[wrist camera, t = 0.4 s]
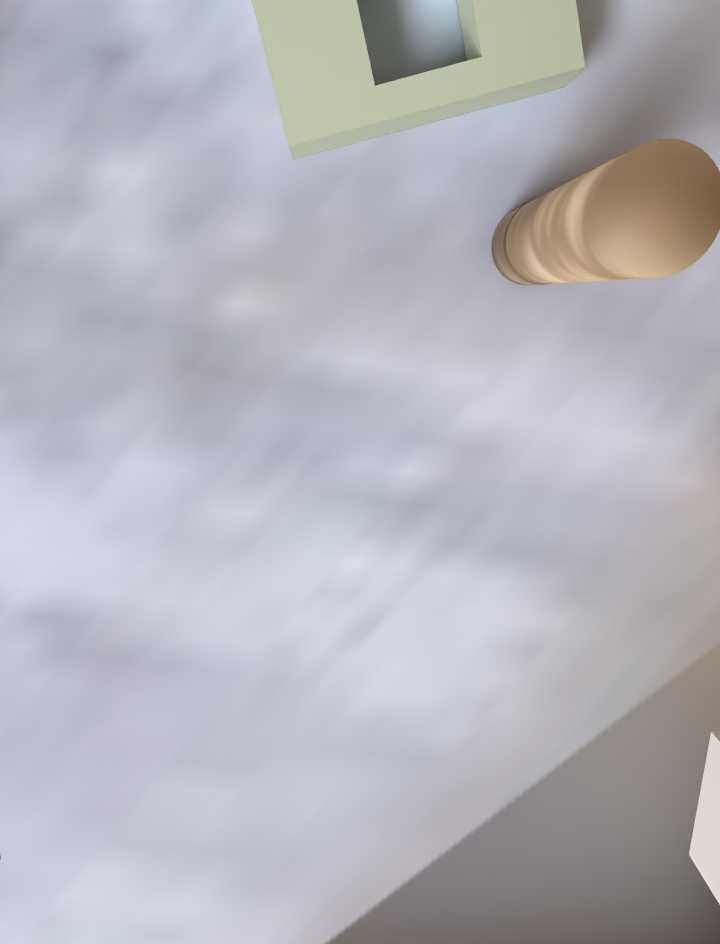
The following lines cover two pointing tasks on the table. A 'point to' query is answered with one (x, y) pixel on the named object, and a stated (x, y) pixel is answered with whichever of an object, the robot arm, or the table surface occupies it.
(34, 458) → the table surface
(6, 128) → the table surface
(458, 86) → the board
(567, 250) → the peg
